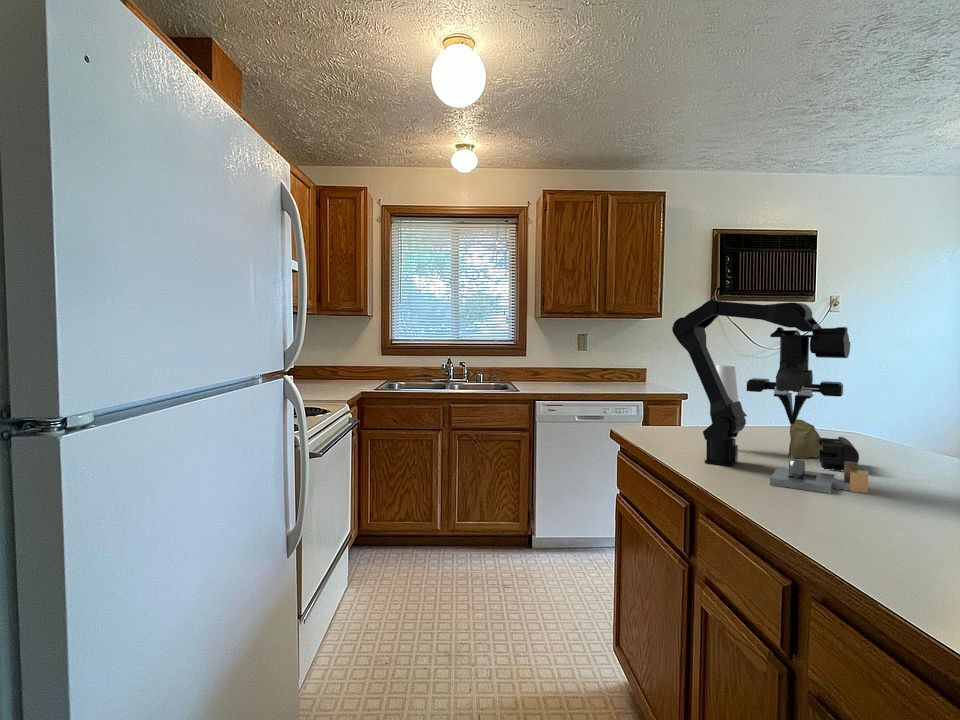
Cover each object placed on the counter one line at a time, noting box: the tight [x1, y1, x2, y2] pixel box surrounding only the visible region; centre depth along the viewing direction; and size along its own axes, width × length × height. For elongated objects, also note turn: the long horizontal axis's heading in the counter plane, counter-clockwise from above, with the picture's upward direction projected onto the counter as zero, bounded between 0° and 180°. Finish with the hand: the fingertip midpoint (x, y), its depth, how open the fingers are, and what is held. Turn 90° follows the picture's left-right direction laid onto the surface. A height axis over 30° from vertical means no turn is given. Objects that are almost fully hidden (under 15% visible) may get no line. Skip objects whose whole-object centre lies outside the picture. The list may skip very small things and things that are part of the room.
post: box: [788, 458, 806, 479], centre depth 113 cm, size 3×3×5 cm
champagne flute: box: [715, 364, 739, 402], centre depth 147 cm, size 7×7×24 cm
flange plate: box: [769, 467, 869, 495], centre depth 111 cm, size 17×11×4 cm, turn 52°
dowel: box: [843, 461, 859, 481], centre depth 111 cm, size 2×2×5 cm
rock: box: [788, 418, 823, 459], centre depth 137 cm, size 11×9×10 cm
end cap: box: [818, 436, 860, 471], centre depth 126 cm, size 10×7×7 cm
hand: (792, 423), depth 120 cm, fingers closed
